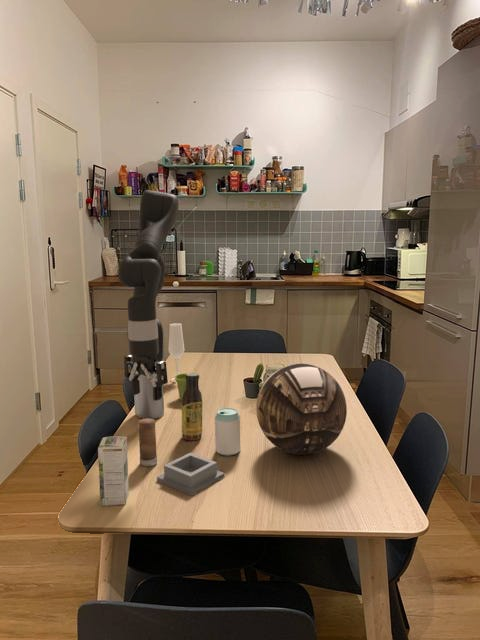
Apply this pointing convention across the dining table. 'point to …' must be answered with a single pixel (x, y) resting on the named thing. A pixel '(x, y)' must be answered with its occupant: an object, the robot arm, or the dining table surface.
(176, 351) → the champagne flute
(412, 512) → the dining table surface
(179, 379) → the plant pot
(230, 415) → the can
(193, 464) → the holder
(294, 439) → the sphere
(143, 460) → the handle
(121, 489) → the syrup box
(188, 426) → the sauce bottle
